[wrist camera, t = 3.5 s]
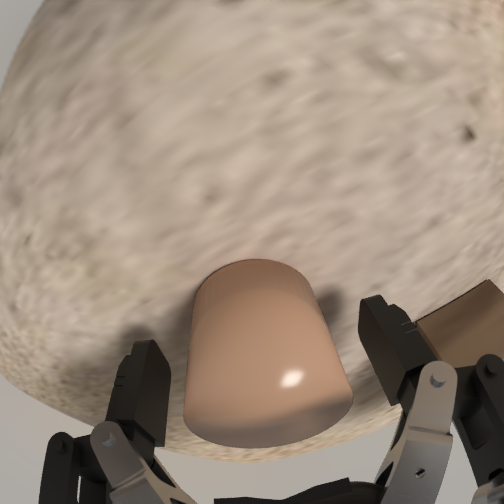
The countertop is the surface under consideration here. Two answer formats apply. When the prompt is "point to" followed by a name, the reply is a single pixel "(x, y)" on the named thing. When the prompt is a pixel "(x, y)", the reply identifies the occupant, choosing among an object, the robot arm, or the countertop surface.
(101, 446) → the robot arm
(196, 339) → the tan rounded cylinder
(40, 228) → the countertop surface
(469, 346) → the tower base
